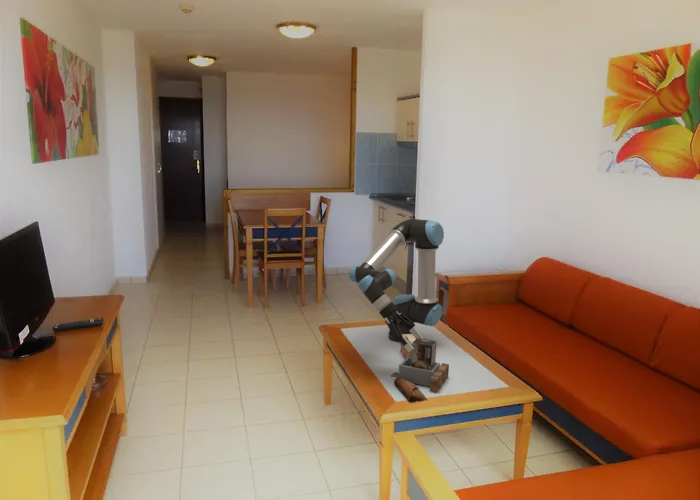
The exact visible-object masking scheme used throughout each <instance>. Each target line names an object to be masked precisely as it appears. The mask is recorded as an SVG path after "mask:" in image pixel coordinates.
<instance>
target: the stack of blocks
mask: <svg viewBox="0 0 700 500" xmlns="http://www.w3.org/2000/svg"><path fill="white" fill-rule="evenodd" d="M402 336H404V337H405V338H406V339H407V341H408V342H409V343H410V344H411V345H412V343H413V342H414V341H415V340H416V338H415V337H414V336H413V335H412V334H402ZM400 353H401V355H402V357H403V359H404V360H405V359H406V358H407V357H410V358H412V350H411V351H410V352H408V351H407V350H406V348H405V347H404V346H403V345H402V344H401V343H400Z"/></svg>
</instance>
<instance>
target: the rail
mask: <svg viewBox="0 0 700 500" xmlns="http://www.w3.org/2000/svg"><path fill="white" fill-rule="evenodd" d="M398 376H399V372H397V371H394V372H393V373H392V374H391V375H390V377H391V378H395V379H396V378H398Z"/></svg>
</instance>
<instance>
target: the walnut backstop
mask: <svg viewBox="0 0 700 500" xmlns="http://www.w3.org/2000/svg"><path fill="white" fill-rule="evenodd" d="M449 370H450V364H449V363H445V362H443V363H440V367H439V368H438V369H437V370H436V372H435V373H434V374H433V375H432V376H431V378H430V387H429V392H431V393H436V394H437V393H438V392H439V390H440V389H441V388H442V386H443V385H444V384H445V383H446V381H447V380H448V378H449Z"/></svg>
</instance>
